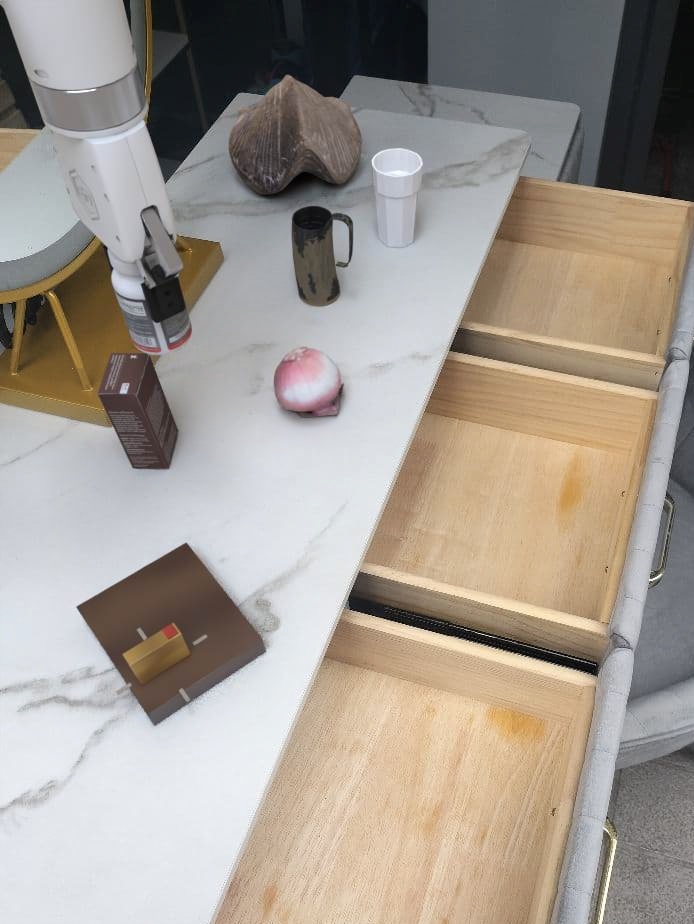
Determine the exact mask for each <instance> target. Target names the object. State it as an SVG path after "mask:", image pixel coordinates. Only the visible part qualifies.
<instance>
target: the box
mask: <svg viewBox="0 0 694 924" xmlns="http://www.w3.org/2000/svg"><path fill="white" fill-rule="evenodd" d="M97 396H98V398H99V400H100V402H101V404H102V406H103V408H104V410H105V413H106V415H107V417H108V419H109V421H110V423H111V425H112V426H113V429H114V431H115V433H116V437H118V440H119V443H120V444H121V447H122V448H123V451H124V453H125V455H126V457H127V459H128V462H129V464H130V465H131V468H132V469H137V470H138V469H141V470H142V469H143V470H168V469H169V468H170V464H171V462H172V457H173V454H174V449H175V445H176V442H177V438H178V434H179V429H178V426H177V423H176V421H175V418H174V415H173V413H172V410H171V407H170V404H169V403H168V400H167V396H166V394H165V391H164V389H163V386H162V384H161V381H160V377H159V376H158V372H157V369H156V368H155V365H154V363H153V360H152V357H151V355H150V354H147V353H144V352H111V353H110V355H109V358H108V360H107V364H106V366H105V369H104V373H103V375H102V379H101V381H100V384H99V387H98V390H97Z"/></svg>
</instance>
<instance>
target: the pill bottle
mask: <svg viewBox="0 0 694 924" xmlns="http://www.w3.org/2000/svg"><path fill="white" fill-rule="evenodd" d="M148 243H150V241H149V239H148V237H147V238H145V243H144V245H145V244H148ZM108 255H109V259H110V263H111V265H112V267H113V268H114V269H113V271H112V273H111V275H110V276H111V277H110V279H111V280H110V281H111V284H112V288H113V291H114V293H115V296H116V300H117V301H118V305H119V308H120V311H121V314H122V316H123V319H124V322H125V325H126V329H127V331H128V334H129V337H130V340H131V342H132V344H133V346H134V347H135V348H136V349H138V350H139V351H141V353H147V354H150V356H165V355H170V354H174V353H176V352H178V351H180V350H182V348H183V347H185V346H187V344H188V343H189V342H190V340H191V338H192V335H193V324H192V322H191V319H190V315H189V310H188V307H187V302H186V298H185V296H184V291H183V287H182V284H181V280H180V275H179V276H178V278H179V282H180V286H181V290H182V294H183V298H184V301H185V305H186V308H185V310H184V311H182V312H180V313H178V314H176V315H174V316H172V317H170V318H168V319H166V320H164V321H161V322H159V323H155V322H154V321H153V320H152V319H151V317H150V314H149V310H148V307H147V304H146V301H145V297H144V294H143V291H142V287H141V283H143V282H144V280H143V277H142V275H141V273H140V270H139V268H138V266H137V263H136V261H135V262H133V263H128V262H125V261H123V260H121V259H120V258H118V257H117V256H116V255H115V254H114V253H113V252H112V251H111V250H110V249H109V248H108ZM145 258H146V261H147V263H148V265H149V268H150V270H151V269H152V268H153V267H154V266H155V265H158V263H159V258H158V256H157V254H156V253H153V254H151V255H149V256H147V257H145Z"/></svg>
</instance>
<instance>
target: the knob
mask: <svg viewBox="0 0 694 924" xmlns="http://www.w3.org/2000/svg"><path fill="white" fill-rule="evenodd" d="M190 654H191V653H190V651H189V649H188V647H187V645H186V643H185V640H184V638H183V636H182V634H181V632H180V631H179V630H178V628H177V627H176V625H175V624H174V623H172V624H170V625H169V626H167V627H166V628H164V629H162V630H161V631H159V632H158V633H156V634H155V635H153V636H151V637H150V638H148V639H146V640H145V641H143V642H142V643H140V644H138V645H137V646H135V647H133V648H132V649H130V650H129V651H127V652H125V653H124V654H123V656H124V658H125V660H126V661H127V663H128V664H129V666H130V668H131V669H132V671H133V673H134V674H135V676H136V677H137V679H138V680H139V682H140V683H141V685H143V684H145V683H146V682H148V681H149V680H151V679H152V678H154V677H156V676H157V675H159V674H160V673H162V672H163V671H165V670H166V669H168V668H170V667H171V666H173V665H174V664H176V663H177V662H179V661H181V660H182V659H184V658H185V657H187V656H188V655H190Z"/></svg>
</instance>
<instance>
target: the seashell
mask: <svg viewBox="0 0 694 924" xmlns="http://www.w3.org/2000/svg"><path fill="white" fill-rule="evenodd" d="M228 136H229V137H228V153H229V158H230V161H231V163H232V166H233V168H234V170H235V171H236V173H237V175H238V177H239V178H240V179H241V180H242V181H243V183H245V184H246V185H247V186H248V187H249V188H251V189H252V190H254V191H255V192H257V193H258V194H261V195H274V194H276V193H279V192H281V191H283V190H284V189H285V188H286V187H287V186H288V185H289V184H290V183H291V182H292V181H293V179H295V178H296V177H297V176H298V175H300V174H301V173H304V172H305V173H308V174H311V175H313V176H315V177H317V178H318V179H321V180H323V181H325V182H327V183H330V184H333V185H342V184H344V183H346V182H347V181H349V180H350V178H351V177H352V176H353V174H354V173H355V170H356V168H357V166H358V164H359V161H360V159H361V155H362V143H363V142H362V141H363V138H362V133H361V130H360V128H359V124H358V122H357V120H356V118H355V116H354V115H353V113H352V110H351V106H350V104H349V103H347V102H346V101H345V100H342V99H340V98H339V97H338V98H337V97H334V96H324V95H322V94H320V93H319V91H317V90H315V89H314V88H312V87H310V86H309V85H307V84H305V83H304V82H301V81H299V80H297V79H295V78H294V77H293V76H292V75H290V74H286V75H285V76H284V77H283V78H282V80H281V81H279V82H277V83H276V84H275V85H274V86H272V87H271V88H270V89H269V90H268V91H267V92H266V93H265V94H264V96H263V97H262V98H261V99H260V100H259V101H258V102H257V103H256V104H254V105H249V106H244V107H241V108H239V109H238V114H237V118H236V120H235V123H234V124H233V126H232V128H231V130H230V132H229V135H228Z"/></svg>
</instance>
